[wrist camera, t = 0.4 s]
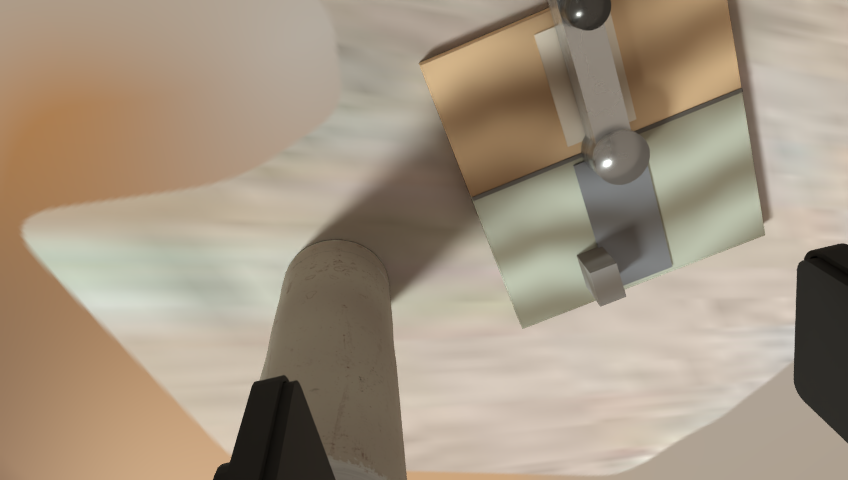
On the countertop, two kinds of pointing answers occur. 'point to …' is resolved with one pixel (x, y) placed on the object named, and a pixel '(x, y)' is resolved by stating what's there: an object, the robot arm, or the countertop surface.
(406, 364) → the countertop surface
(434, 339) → the countertop surface
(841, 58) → the countertop surface
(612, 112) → the arm
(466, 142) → the lock board
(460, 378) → the countertop surface
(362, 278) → the thermos bottle
